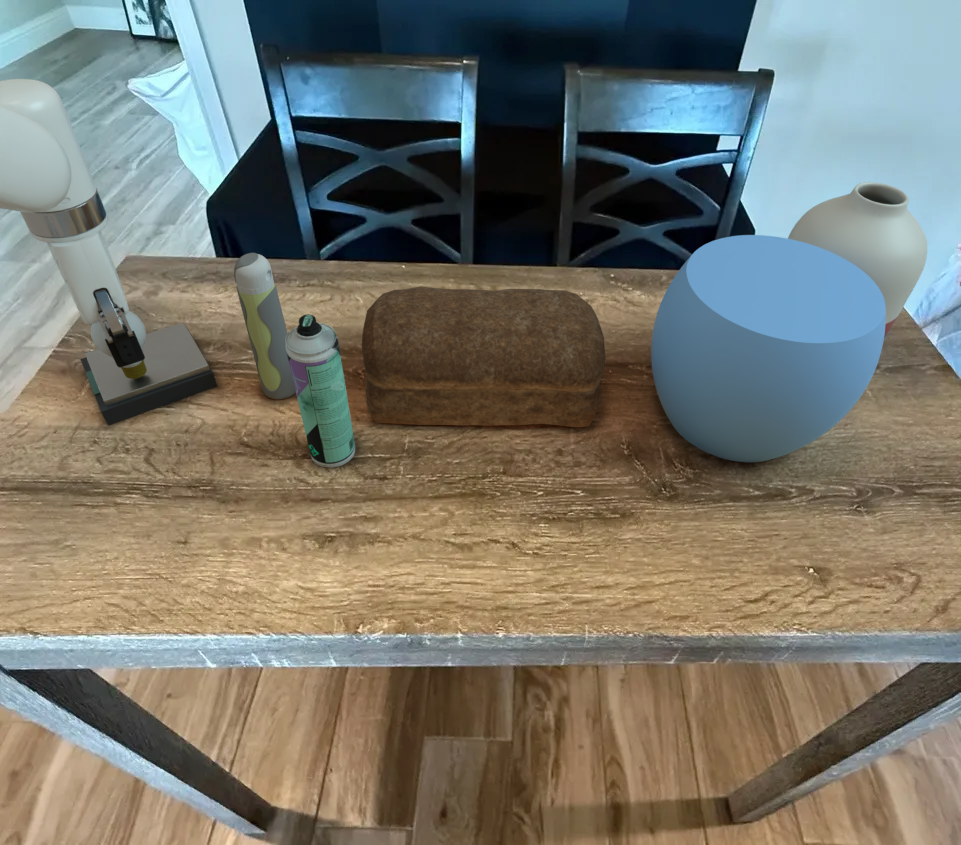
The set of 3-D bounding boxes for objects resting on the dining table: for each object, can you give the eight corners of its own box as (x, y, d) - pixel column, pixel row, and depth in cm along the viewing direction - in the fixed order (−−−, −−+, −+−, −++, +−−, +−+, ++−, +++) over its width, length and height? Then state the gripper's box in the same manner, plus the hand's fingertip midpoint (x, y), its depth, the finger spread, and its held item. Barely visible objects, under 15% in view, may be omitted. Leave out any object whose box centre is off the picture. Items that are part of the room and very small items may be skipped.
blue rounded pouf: (865, 483, 81) (953, 352, 67) (662, 491, 80) (707, 358, 65) (785, 352, 99) (841, 226, 85) (618, 356, 97) (645, 228, 83)
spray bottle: (290, 404, 89) (259, 273, 75) (256, 397, 89) (218, 266, 75) (306, 380, 92) (278, 250, 78) (273, 374, 93) (240, 244, 79)
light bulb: (129, 359, 89) (102, 295, 82) (171, 365, 88) (146, 302, 81) (103, 388, 85) (71, 323, 78) (146, 395, 84) (118, 331, 77)
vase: (761, 299, 109) (817, 153, 92) (874, 328, 104) (954, 180, 87) (743, 359, 98) (802, 206, 81) (868, 395, 93) (959, 241, 76)
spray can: (347, 429, 86) (325, 298, 72) (361, 459, 82) (341, 327, 68) (305, 443, 84) (273, 310, 70) (317, 473, 80) (287, 341, 66)
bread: (600, 434, 86) (618, 354, 77) (361, 429, 86) (349, 348, 76) (586, 350, 98) (600, 272, 89) (376, 345, 98) (368, 266, 88)
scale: (108, 426, 85) (97, 406, 83) (87, 373, 92) (77, 353, 90) (217, 386, 91) (211, 366, 88) (190, 339, 98) (183, 319, 95)
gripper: (11, 187, 74) (77, 321, 87) (39, 260, 64) (108, 399, 77) (85, 172, 77) (138, 303, 90) (122, 239, 67) (176, 376, 80)
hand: (124, 346), depth 83 cm, fingers closed on light bulb, 6 cm apart
